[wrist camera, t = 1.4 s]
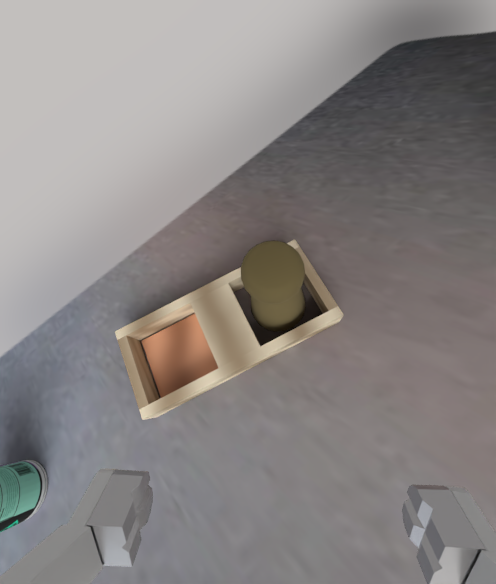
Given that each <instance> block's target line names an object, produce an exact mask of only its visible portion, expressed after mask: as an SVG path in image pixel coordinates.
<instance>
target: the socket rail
mask: <svg viewBox="0 0 496 584" xmlns="http://www.w3.org/2000/svg"><path fill="white" fill-rule="evenodd" d="M287 244H288V245H290V246H292V247H293V248H294V249H295V250H296V251H297V252H298V253H299V254H300V256H301V258H302V260H303V263H304V268H305V277H304V281H303V282H304V284H305V286H306V287H307V289H308V290H309V292H310V294H311V295H312V297H313V299H314V300H315V302H316V303H317V305H318V307H319V308H320V310H321V312H322V313H323V314H322V315H320V316H318V317H316V318H314V319H312V320H310V321H308V322H306V323H304V324H303V325H301V326H299V327H297V328H295V329H293V330H291V331H289V332H287V333H285V334H283V335H281V336H280V337H278V338H276V339H274V340H272V341H270V342H268V343H266V344H264V345H262V346H261V345H260V344H259V342H258V340H257V338H256V336H255V334H254V332H253V330H252V328H251V326H250V324H249V322H248V320H247V318H246V316H245V314H244V312H243V310H242V308H241V306H240V304H239V302H238V300H237V298H236V296H235V294H234V292H235V291H237V290H239V289H241V288H243V287H244V285H243V282H242V280H241V267H240V268H238V269H236V270H234V271H232V272H230V273H228V274H226V275H224V276H222V277H220V278H218V279H216V280H215V281H213V282H211V283H209V284H207V285H205V286H203V287H201V288H199V289H197V290H195V291H193V292H191V293H189V294H187V295H185V296H183V297H181V298H179V299H177V300H175V301H173V302H172V303H170V304H168V305H166V306H164V307H162V308H160V309H158V310H156V311H154V312H152V313H150V314H148V315H146V316H144V317H142V318H140V319H138V320H136V321H134V322H132V323H131V324H129V325H127V326H125V327H123V328H121V329H119V330H117V331H115V334H116V337H117V340H118V343H119V346H120V350H121V353H122V356H123V359H124V362H125V366H126V369H127V372H128V375H129V378H130V382H131V385H132V388H133V391H134V394H135V398H136V401H137V404H138V407H139V410H140V414H141V417H142V420H144V419H150V418H156V417H158V416H160V415H162V414H164V413H166V412H168V411H170V410H172V409H174V408H176V407H177V406H179V405H181V404H183V403H185V402H187V401H189V400H191V399H193V398H195V397H197V396H199V395H200V394H202V393H204V392H206V391H208V390H210V389H212V388H214V387H216V386H218V385H220V384H221V383H223V382H225V381H227V380H229V379H231V378H233V377H235V376H237V375H239V374H241V373H243V372H244V371H246V370H248V369H250V368H252V367H254V366H256V365H258V364H260V363H262V362H264V361H266V360H267V359H269V358H271V357H273V356H275V355H277V354H279V353H281V352H283V351H285V350H287V349H289V348H290V347H292V346H294V345H296V344H298V343H300V342H302V341H304V340H306V339H308V338H310V337H312V336H313V335H315V334H317V333H319V332H321V331H323V330H325V329H327V328H329V327H331V326H333V325H335V324H336V323H338V322H339V321H340V320H341V318H342V317H343V313H342V312H341V310H340V308H339V307H338V305H337V304H336V302H335V301H334V299H333V298H332V296H331V294H330V293H329V291H328V290H327V288H326V287H325V285H324V284H323V282H322V281H321V279H320V277H319V276H318V274H317V273H316V271H315V270H314V268H313V267H312V265H311V264H310V262H309V260H308V259H307V257H306V256H305V254H304V253H303V251H302V250H301V248H300V246H299V245H298V243H297V242H296V240H293V241H291V242H289V243H287ZM193 313H195V314H193ZM191 314H193V315H191ZM189 315H191V316H189ZM187 316H189V317H187ZM185 317H187V318H185ZM183 318H185V319H183ZM181 319H183V320H181ZM179 320H181V321H179ZM177 321H179V322H177ZM175 322H177V323H175ZM173 323H175V324H173ZM171 324H173V325H171ZM169 325H171V326H170V327H168V328H166V329H164V330H162V331H160V332H158V333H156V332H157V331H159V330H161V329H163V328H165V327H167V326H169ZM154 333H156V334H154ZM152 334H154V335H152ZM150 335H152V336H150ZM148 336H150V337H148ZM146 337H148V338H146ZM144 338H146V339H144ZM142 339H144V340H142ZM140 340H142V344H143V347H144V350H145V353H146V356H147V359H148V362H149V364H150V367H151V370H152V373H153V376H154V379H155V382H156V385H157V388H158V391H159V393H160V396H161V398H160V397H159V394H158V391H157V388H156V386H155V383H154V380H153V377H152V374H151V371H150V368H149V365H148V362H147V359H146V356H145V353H144V351H143V348H142V345H141V342H140Z"/></svg>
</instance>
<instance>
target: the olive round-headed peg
mask: <svg viewBox="0 0 496 584" xmlns="http://www.w3.org/2000/svg"><path fill="white" fill-rule="evenodd" d="M304 277H305V268H304V263H303V260H302V258H301V256H300V254H299V253H298V252H297V251H296V250H295V249H294V248H293V247H292V246H290V245H288V244H286V243H285V242H280V241H265V242H263V243H260V244H258V245H256V246H255V247H253V248H252V249H251V250H249V252H248V253H247V254H246V256H245V257H244V259H243V263H242V266H241V280H242V282H243V285H244V288H245V289H246V291H247V292H248V293H249V294H250V295H251V311H252V314H253V316H254V319H255V320H256V321H257V322H258V324H259V325H260V326H262V327H264V328H265V329H267V330H271V331H274V332H279V331H286V330H289V329H291V328H293V327H294V326H295V325H297V324H298V323H299V322H300V320H301V319H302V317H303V316H304V312H305V308H306V306H305V298H304V295H303V292H302V289H301V286H302V285H303V281H304Z"/></svg>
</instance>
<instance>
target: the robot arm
mask: <svg viewBox="0 0 496 584" xmlns="http://www.w3.org/2000/svg"><path fill="white" fill-rule="evenodd" d="M149 481H150V476H149V472H147V471H132V470H118V469H100V470H99V471H98V472H97V473H96V474H95V476H94V478H93V480H92V481H91V483H90V485H89V487H88V489H87V490H86V492H85V494H84V496H83V497H82V499H81V501H80V503H79V504H78V506H77V508H76V510H75V512H74V513H73V515H72V517H71V519H70V520H69V522H68V524H67V525H61V526H60V527H59V528H58V529H56V530H55V531H54V532H53V533H52V534H50V535H49V536H48V537H47V538H46V539H44V540H43V541H42V542H41V543H40V544H38V545H37V546H36V547H35V548H34V549H32V550H31V551H30V552H29V553H28V554H26V555H25V556H24V557H23V558H22V559H20V560H19V561H18V562H17V563H16V564H14V565H13V566H12V567H11V568H10V569H9V570H7V571H6V572H5V573H4V574H3V575H1V576H0V584H90V583H91V582H92V581H93V579H94V578H95V577H96V576H97V575H98V574H99V572H100V571H101V570H102V569H103V566H124V567H132V566H133V563H134V560H135V557H136V554H137V551H138V548H139V545H140V542H141V535H140V530H141V529H142V528H143V527H144V526H145V525H146V524H147V522H148V518H149V515H150V512H151V507H152V502H153V492H152V488H151V487H150V486H149V485H148V483H149ZM407 493H408V495H409V499H408V500H406V501H405V502H404V505H403V509H402V513H403V521H404V525H405V529H406V531H407V534H408V537H409V539H410V540H411V541H412V542H413V543H414V544H415V545H416V546H417V547H418V553H417V559H418V562H419V564H420V567H421V569H422V572H423V574H424V577H425V579H426V582H427V584H496V533H495V531H494V530H493V528H492V527H491V525H490V524H489V522H488V521H487V519H486V518H485V516H484V514H483V513H482V511H481V510H480V508H479V507H478V505H477V504H476V502H475V501H474V499H473V498H472V496H471V495H470V493H469V492H468V491H467V490H466V489H465V488H463V487H448V486H437V485H411V486H409V488H408V491H407Z"/></svg>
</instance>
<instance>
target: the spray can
mask: <svg viewBox="0 0 496 584" xmlns="http://www.w3.org/2000/svg"><path fill="white" fill-rule="evenodd" d="M47 486H48V480H47V475H46V472H45V470H44V468H43V467H42V465H41V464H39V463H38V462H36V461H34V460H24V461H19V462H14V463H10V464H6V465H2V466H0V532H2V531H4V530H6V529H8V528H10V527H12V526H15V525H17V524H19V523H21V522H23V521H25V520H27V519H28V518H30V517H31V516H33V515H34V514H35V513H36V512H37V511H38V510H39V508H40V507H41V505H42V503H43V501H44V499H45V496H46V493H47Z"/></svg>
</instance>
